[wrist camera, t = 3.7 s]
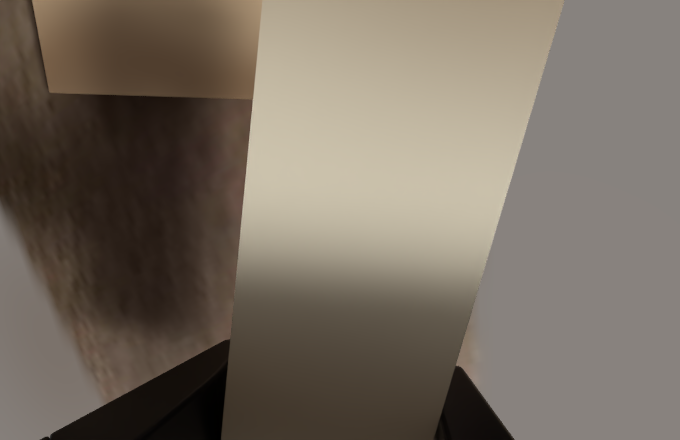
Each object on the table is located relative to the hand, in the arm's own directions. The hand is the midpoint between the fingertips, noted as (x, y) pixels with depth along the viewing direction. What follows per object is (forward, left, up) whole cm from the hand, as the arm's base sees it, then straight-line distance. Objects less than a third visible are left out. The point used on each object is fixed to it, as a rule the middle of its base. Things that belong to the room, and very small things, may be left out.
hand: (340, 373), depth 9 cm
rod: (0, 0, -1) cm, 1 cm away
